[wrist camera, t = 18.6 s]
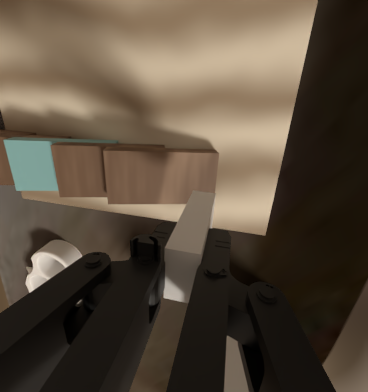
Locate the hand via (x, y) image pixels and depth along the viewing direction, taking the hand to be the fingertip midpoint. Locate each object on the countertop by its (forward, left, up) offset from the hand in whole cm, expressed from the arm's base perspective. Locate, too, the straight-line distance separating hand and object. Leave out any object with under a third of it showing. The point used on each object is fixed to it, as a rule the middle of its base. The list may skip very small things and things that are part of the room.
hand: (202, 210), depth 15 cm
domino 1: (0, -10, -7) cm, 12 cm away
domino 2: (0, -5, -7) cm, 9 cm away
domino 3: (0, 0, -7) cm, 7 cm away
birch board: (-7, -9, -9) cm, 15 cm away
